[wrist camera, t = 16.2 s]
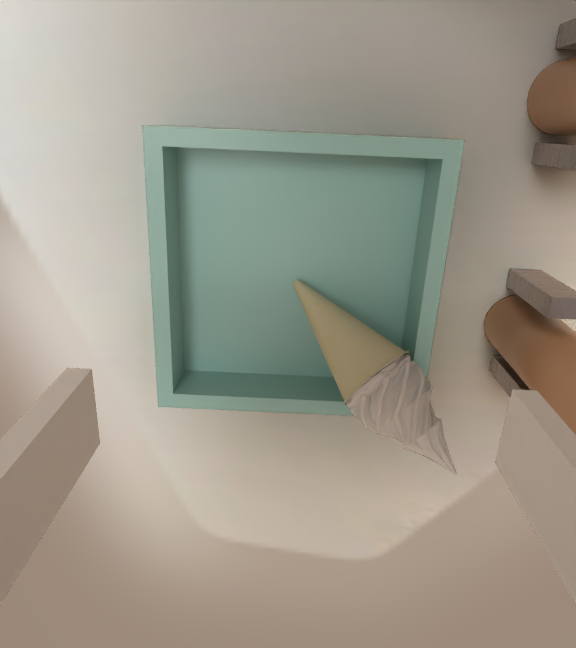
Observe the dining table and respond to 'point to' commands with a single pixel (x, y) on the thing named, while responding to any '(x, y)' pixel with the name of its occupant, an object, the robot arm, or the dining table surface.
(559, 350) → the cylinder
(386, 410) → the ice cream cone
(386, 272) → the tray
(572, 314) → the clip row
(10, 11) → the dining table surface
